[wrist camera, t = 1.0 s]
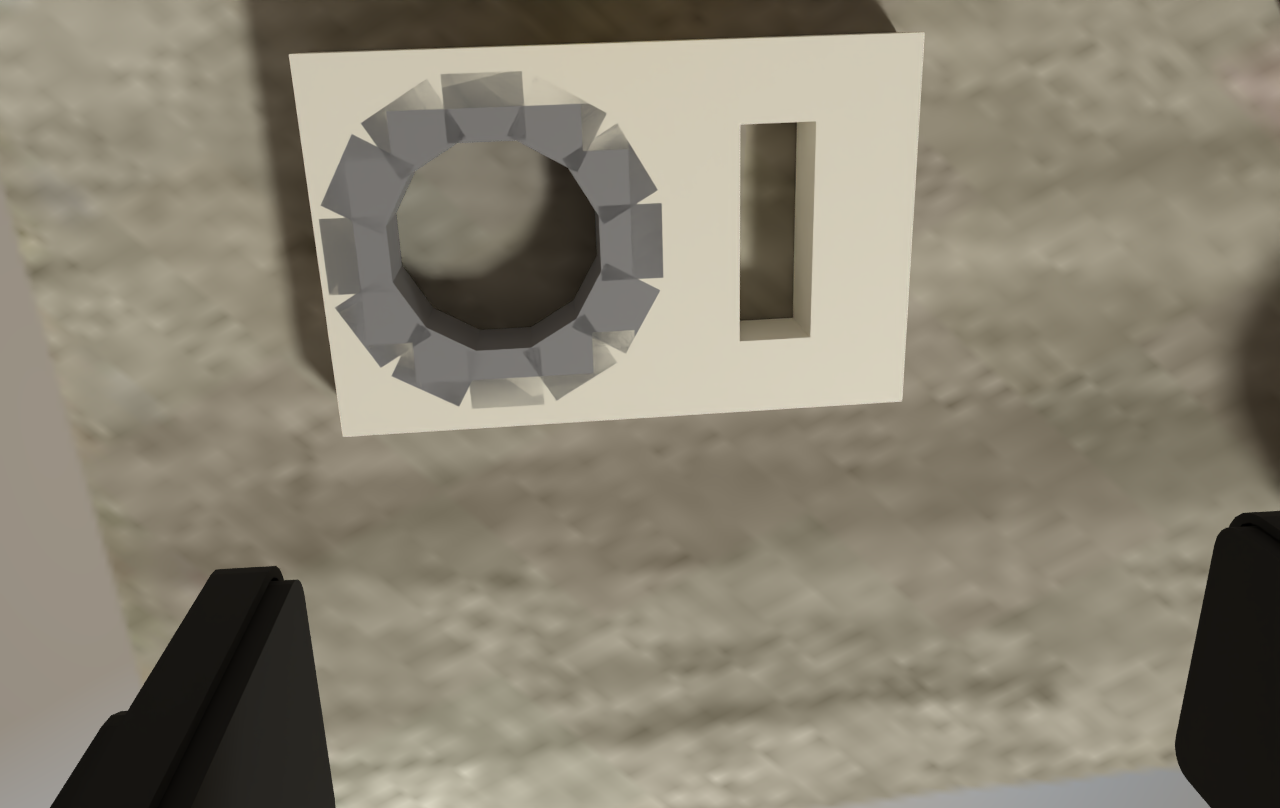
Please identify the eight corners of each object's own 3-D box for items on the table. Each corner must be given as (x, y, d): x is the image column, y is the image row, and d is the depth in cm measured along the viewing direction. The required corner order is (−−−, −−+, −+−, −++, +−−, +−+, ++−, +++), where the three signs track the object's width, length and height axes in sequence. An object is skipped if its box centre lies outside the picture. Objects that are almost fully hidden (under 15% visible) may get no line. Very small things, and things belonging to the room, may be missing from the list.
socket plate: (897, 32, 34) (924, 32, 31) (879, 378, 38) (902, 401, 35) (306, 52, 32) (288, 54, 30) (355, 410, 36) (343, 436, 34)
